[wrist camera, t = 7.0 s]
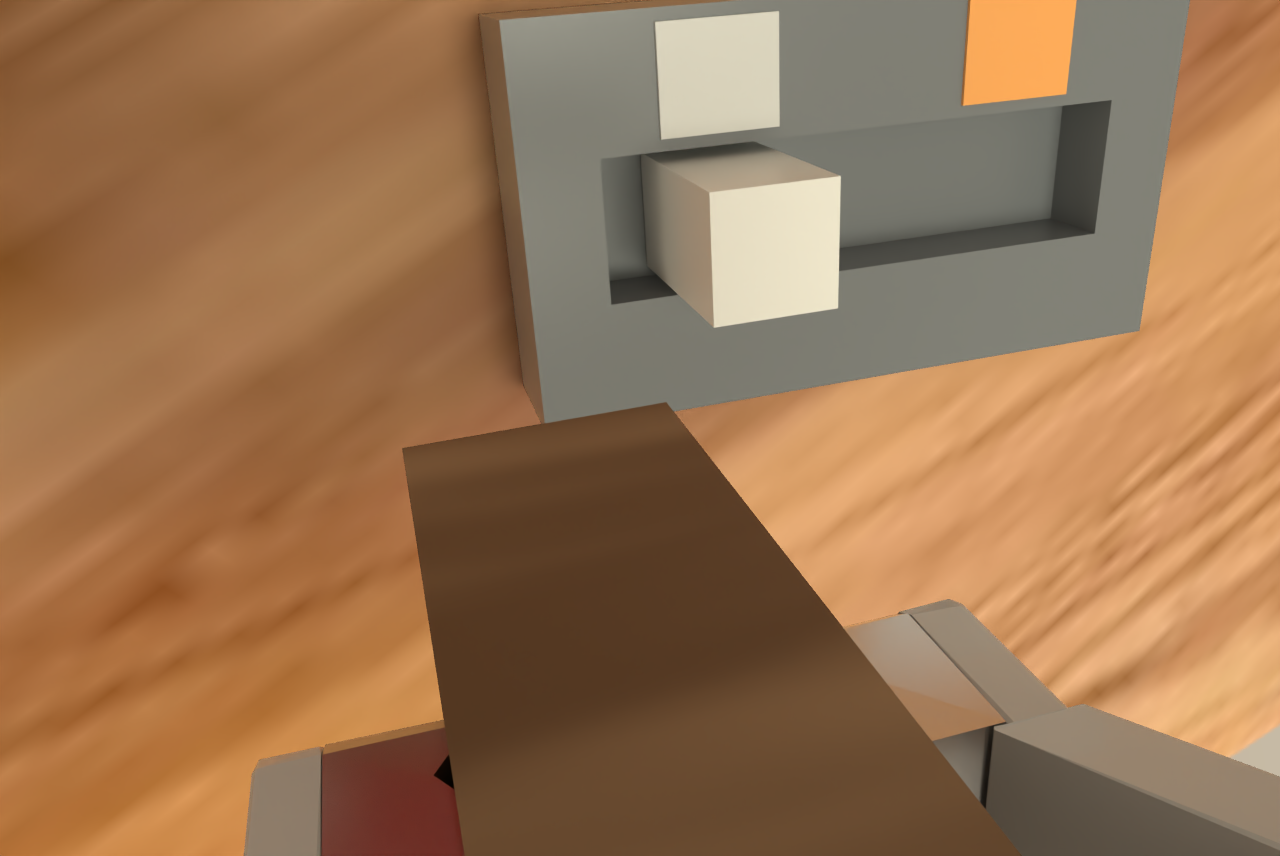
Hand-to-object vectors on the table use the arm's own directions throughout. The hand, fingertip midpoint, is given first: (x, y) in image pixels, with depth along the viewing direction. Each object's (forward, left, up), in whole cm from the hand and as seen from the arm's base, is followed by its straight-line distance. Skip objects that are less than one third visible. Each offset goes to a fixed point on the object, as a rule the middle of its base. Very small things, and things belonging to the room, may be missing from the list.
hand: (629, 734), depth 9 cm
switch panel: (+11, 0, -21) cm, 23 cm away
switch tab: (+7, 0, -19) cm, 20 cm away
